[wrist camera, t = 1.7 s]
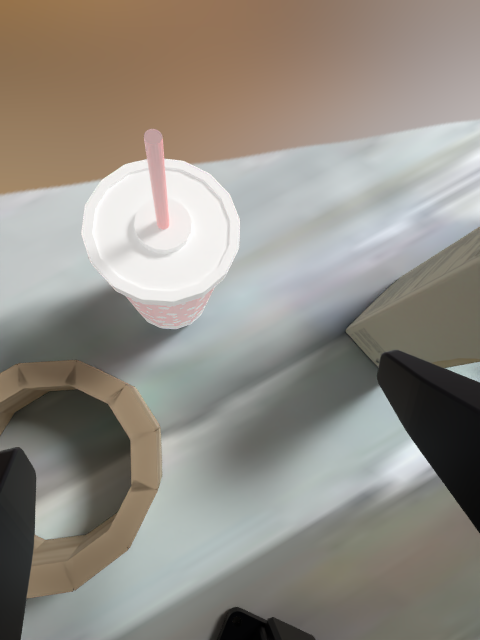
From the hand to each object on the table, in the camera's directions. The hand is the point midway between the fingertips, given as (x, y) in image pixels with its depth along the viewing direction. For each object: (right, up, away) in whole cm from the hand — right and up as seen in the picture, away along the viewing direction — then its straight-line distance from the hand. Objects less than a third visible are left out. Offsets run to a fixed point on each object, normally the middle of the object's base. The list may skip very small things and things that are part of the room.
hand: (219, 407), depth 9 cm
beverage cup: (-4, +4, +14) cm, 15 cm away
